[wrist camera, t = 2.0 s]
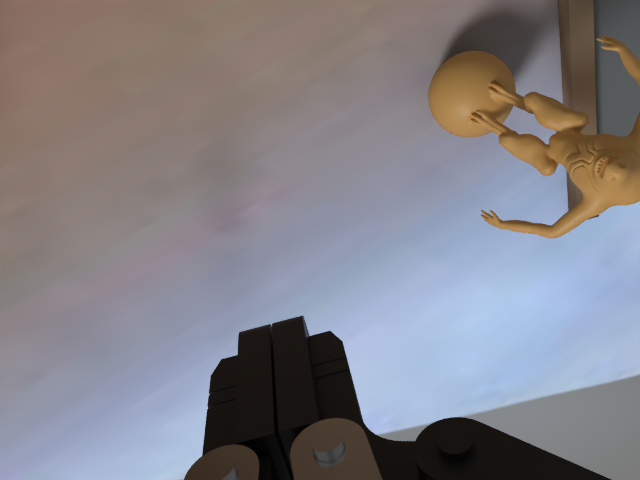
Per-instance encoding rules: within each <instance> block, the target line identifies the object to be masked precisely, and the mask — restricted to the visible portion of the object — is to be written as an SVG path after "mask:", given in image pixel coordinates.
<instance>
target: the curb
mask: <svg viewBox="0 0 640 480" xmlns="http://www.w3.org/2000/svg"><path fill="white" fill-rule="evenodd" d="M558 7H559V27H560V47H561V67H562V87H563V105H564V106H566V107H567V108H569V109H571V110H574V111H578V112H583V113H586V114H587V115H588V117H589V123H588V125H587V126H586V127H585V128H584V129H583V130H582V131H581V132H580V133H581V134H584V135H597V119H596V80H595V40H594V1H593V0H558ZM567 188H568V208H569V210H571V209H572V208H573V207H574V206H576V205H577V204H578V203H579V202H580V201H581V200H582V198H583V193H582V192H581V190H580V189H579V188H578V187H577V186H576V185H575V184H574V183H573V182H572V180H571V178H570V176H569V173H568V172H567ZM598 216H599V215H596V216H594V217H598ZM594 217H591V218H594ZM591 218H589V219H591Z"/></svg>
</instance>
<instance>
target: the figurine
mask: <svg viewBox="0 0 640 480" xmlns="http://www.w3.org/2000/svg"><path fill="white" fill-rule="evenodd" d="M601 37H602V38H604V39H605V40H604V39H600V38H597V40H598V41H601V42H602V43H604V44H606V45H609V46H601V48H603V49H606V50H613V51H617V52H618V53H619V54H620V57H621V60H622V62H623V64H624V66H625V68H626V69H627V71H628V72H629V74H630V75H631V76H632V77H633V78H634V79H635V80H636V82H637V83H638V85H639V87H640V62H639V60H638V59H637V57H636V56H634V55H633V54H632V53H631V51H630V50H629V49H628V47H627V46H626V45H625V44H623V43H622V42H621V41H619V40H617V39H615V38H612V37H607V36H601ZM428 98H429V106H430V110H431V112H432V115H433V117H434V118H435V120H436V121H437V123H438V124H439V125H440V126H441V127H442V128H443V129H445V130H446V131H448V132H449V133H451V134H454V135H456V136H460V137H478V136H482V135H485V134H488V133H490V132H494V133H496V134H497V135H499V143H500V145H501V146H503V147H504V148H505V149H507V150H508V151H509V152H510V153H511V154H512V155H514V156H515V157H516V158H518V159H520V160H522V161H524V162H527V163H529V164H531V165H532V166H534V167H535V168H536V169H537V170H538V171H539V172H540V173H541V174H542V175H544V176H549V175H552V174H553V173H554V172H555V170H556V168H557V165H558V163H561V164H562V165H563V166H564V167H565V168H566V170H567V172H568V173H569V176H570V178H571V180H572V182H573V183H574V184H575V185H576V186H577V187H578V188H579V189H580V190H581V192H582V193H583V198H582V200H581V201H580V202H579V203H578V204H577V205H576V206H574V207H573V208H572V209H571V210H569V211H568V212H567V213H566V214H565V215H563V216H562V217H561V218H560V219H559V220H558V221H557V222H556V223H555V224H553V225H551V226H550V225H545V224H541V223H531V222H527V221H520V220H508V221H502V220H500V219H499V218H498V216H497V215H496V214H495V213H494V212H493V211H491V210H490V212H491V214H492V215H493V217H492V216H491V215H490V214H488V213H486V212H484V211H483V210H481V212H482V213H483V214H484V215H485V216H484V215H482V214H481V216H482V217H483V218H484V220H485V221H486V222H488V223H489V224H491V225H492V226H495V227H497V228H500V229H507V230H511V231H515V232H523V233H530V234H536V235H540V236H543V237H546V238H557V237H560V236H562V235H564V234H566V233H567V232H569V231H571V230H572V229H574V228H575V227H577V226H578V225H580V224H581V223H582V222H584V221H585V220H587V219H589V218H591V217H594V216H596V215H599V214H601V213H602V212H604V211H605V210H606V209H608V208H609V207H611V206H616V205H631V204H634V203H637V202H639V201H640V111H639V114H638V116H637V119H636V122H635V124H634V127H633V130H632V131H631V133H630V134H629V135H628V136H625V137H621V136H615V135H611V134H597V135H584V134H581V133H580V132H581V131H582V130H583V129H584V128H585V127H586V126H587V125H588V123H589V117H588V115H587V114H586V113H583V112H578V111H574V110H571V109H569V108H567V107H566V106H564V105H563V104H562V103H560V102H559V101H557V100H555V99H553V98H550V97H547V96H544V95H541V94H539V93H536V92H531V93H529V94H527V95H525V97H522V96H521V95H519V94H517V93H516V89H515V82H514V78H513V75H512V73H511V71H510V70H509V68H508V67H507V65H506V64H505V63H504V62H503V61H502V60H501V59H499V58H498V57H496V56H495V55H493V54H490V53H488V52H484V51H466V52H462V53H459V54H456V55H454V56H452V57H451V58H449V59H448V60H446V61H445V62H444V63H443V64H442V65H441V66H440V67H439V68H438V70H437V71H436V73H435V74H434V76H433V78H432V81H431V84H430V87H429V95H428ZM513 105H514V106H516V107H518V108H520V109H523V110H526V111H527V112H528V113H531V114H534V115H535V117H536V119H537V121H538V122H539V123H540V124H541V125H542V126H544V127H546V128H549V129H552V130H555V131H557V133H556V134H554V135H552V136H551V137H550V139H549V145H547V144H545V143H544V142H543V141H542V140H541V139H539V138H538V137H536V136H534V135H531V134H521V135H519V134H518V133H517V132H515V131H512V130H510V129H509V128H508V127H506V126H504V125H503V124H502V123H503V122H504V121H505V120H506V118H507V117H508V115H509V114H510V112H511V110H512V107H513ZM486 216H487V217H486Z"/></svg>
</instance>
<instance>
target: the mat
mask: <svg viewBox="0 0 640 480" xmlns="http://www.w3.org/2000/svg"><path fill="white" fill-rule="evenodd" d="M593 1H594V40H595V80H596V119H597V134H611V135H615V136H621V137H625V136H628V135H629V134H630V133H631V131H632V130H633V127H634V124H635V122H636V119H637V116H638V114H639V111H640V87H639V85H638V83H637V82H636V80H635V79H634V78H633V77H632V76H631V75H630V74H629V72H628V71H627V69H626V68H625V66H624V64H623V62H622V60H621V57H620V54H619V53H618V52H617V51H613V50H606V49H603V48H601V46H609V45H606V44H604V43H602V42H601V41H598V40H597V38H600V39H604V38H602V37H601V36H607V37H612V38H615V39H617V40H619V41H621V42H622V43H623V44H625V45H626V46H627V47H628V49H629V50H630V51H631V53H632V54H633V55H634V56H636V57H637V59H638V60H639V62H640V0H593ZM604 40H605V39H604Z"/></svg>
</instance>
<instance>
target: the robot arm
mask: <svg viewBox="0 0 640 480" xmlns="http://www.w3.org/2000/svg"><path fill="white" fill-rule="evenodd" d="M209 394H210V396H209V399H208V409H207V417H206V427H205V436H204V445H203V455H202V457H200V458H199V459H198V460H197V461H196V462H195V463H194V464H193V465H192V466H191V468H190V469H189V470H188V472H187V474H186V476H185V478H184V480H611V479H609V478H606V477H604V476H602V475H599V474H597V473H595V472H593V471H590V470H588V469H586V468H583V467H581V466H579V465H577V464H574V463H572V462H570V461H567V460H565V459H563V458H561V457H558V456H556V455H554V454H552V453H549V452H547V451H545V450H542V449H540V448H538V447H536V446H533V445H531V444H529V443H526V442H524V441H522V440H520V439H517V438H515V437H513V436H510V435H508V434H506V433H504V432H501V431H499V430H497V429H494V428H492V427H490V426H487V425H485V424H483V423H481V422H478V421H476V420H473V419H468V418H461V417H454V418H446V419H442V420H439V421H436V422H434V423H432V424H431V425H429V426H427V427H426V428H425V429H424V430H423V431H422V432H421V433H420V434H419V436H418V437H417V439H416V441H393V440H387V439H385V438H382V437H379V436H377V435H375V434H374V433H373V432H371V431H370V430H369V429H368V428H367V427H366V425H365V424H364V422H363V419H362V415H361V411H360V407H359V403H358V399H357V395H356V392H355V388H354V384H353V380H352V376H351V373H350V369H349V365H348V361H347V357H346V354H345V350H344V346H343V342H342V341H341V340H340V339H339V338H338V337H337V336H335V335H334V334H333V333H332V332H331V331H328V332H324V333H320V334H316V335H312V336H309V333H308V330H307V326H306V323H305V320H304V317H303V316H299V317H295V318H292V319H288V320H284V321H280V322H276V323H273V324H272V326H271V325H270V324H269V325H265V326H261V327H258V328H254V329H250V330H246V331H242V332H239V339H238V355H237V356H233V357H229V358H225V359H221V361H220V362H219V364H218V366H217V367H216V369H215V370H214V372H213V374H212V375H211V380H210V389H209Z"/></svg>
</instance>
